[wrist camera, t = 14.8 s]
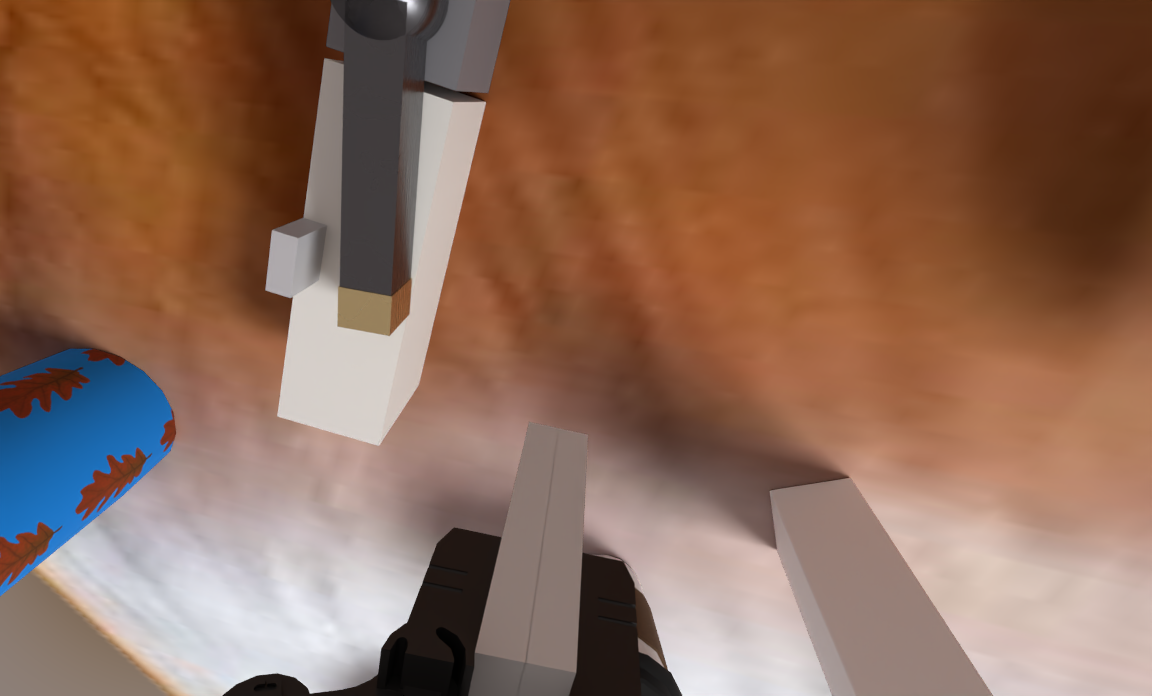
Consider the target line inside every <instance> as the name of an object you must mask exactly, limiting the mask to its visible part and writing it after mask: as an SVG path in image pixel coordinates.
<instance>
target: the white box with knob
mask: <svg viewBox="0 0 1152 696" xmlns="http://www.w3.org/2000/svg"><path fill="white" fill-rule="evenodd" d="M509 3H510V0H449V4H448V11H447V14H446V18H445V20H444V23H443V25H442V26H441V28H440V29H439V31H438V32H437V33H436V34H435V35H434V36H433V37H432V38H431V39H430V40H428V41H427V51H426V65H425V80H426V81H424V94H423V109H422V124H421V138H420V153H419V167H418V182H417V196H416V211H415V225H414V240H413V255H412V269H411V278H412V287H411V302H410V314H409V315H408V316H407V318H406V319H405V320H404V321H403V322H402V323H401V324H400V325H399V326H398V327H397V329H396V330H395V331H394V332H393V333H392V334H391V335H390V336H387V335H381V334H376V333H370V332H365V331H359V330H354V329H348V328H342V327H337V320H338V287H339V286H340V239H341V186H342V132H343V79H344V61H340V60H333V59H326V58H324V65H323V73H322V81H321V88H320V96H319V103H318V111H317V119H316V126H315V134H314V141H313V149H312V157H311V164H310V172H309V180H308V187H307V195H306V202H305V210H304V218H302V219H299V220H296V221H294V222H291V223H289V224H286V225H284V226H281V227H278V228H276V229H273V230H272V235H271V244H270V253H269V262H268V271H267V280H266V289H265V290H266V291H269V292H272V293H276V294H279V295H282V296H285V297H289V298H292V297H293V301H292V309H291V317H290V324H289V332H288V340H287V347H286V355H285V362H284V370H283V378H282V385H281V393H280V400H279V408H278V417H281V418H284V419H288V420H291V421H295V422H298V423H302V424H305V425H309V426H312V427H315V428H319V429H322V430H326V431H329V432H333V433H336V434H339V435H343V436H346V437H350V438H353V439H357V440H360V441H364V442H367V443H370V444H374V445H377V446H379V445H380V444H381V442H382V441H383V439H384V437H385V436H386V434H387V433H388V431H389V430H390V428H391V427H392V425H393V424H394V422H395V421H396V419H397V418H398V416H399V414H400V413H401V411H402V410H403V408H404V407H405V405H406V404H407V402H408V401H409V399H410V398H411V396H412V395H413V393H414V392H415V390H416V388H417V387H418V385H419V382H420V378H421V374H422V369H423V365H424V361H425V357H426V353H427V348H428V344H429V340H430V336H431V332H432V327H433V323H434V319H435V315H436V311H437V306H438V302H439V298H440V294H441V290H442V285H443V281H444V277H445V273H446V269H447V264H448V260H449V256H450V252H451V247H452V243H453V239H454V235H455V231H456V226H457V222H458V218H459V214H460V210H461V205H462V201H463V197H464V193H465V189H466V184H467V180H468V176H469V172H470V168H471V163H472V159H473V155H474V151H475V147H476V142H477V138H478V134H479V130H480V125H481V121H482V117H483V113H484V109H485V104H486V102H485V101H482V100H479V99H476V98H473V97H470V96H468V95H465V94H462V93H459V92H456V91H464V92H480V93H488V92H489V88H490V83H491V79H492V75H493V71H494V67H495V62H496V58H497V54H498V50H499V46H500V41H501V37H502V33H503V29H504V25H505V20H506V16H507V12H508V8H509ZM344 25H345V22H344V21H343V20H342V19H341V17H340V16H339V15H338V13H337V12H336V10H335V9H334V7H333V5H332V4H331V12H330V20H329V27H328V35H327V42H326V46H327V47H329V48H332V49H335V50H338V51H341V52H344ZM427 81H428V82H427ZM430 82H431V83H430ZM433 83H434V84H433ZM436 84H437V85H436ZM438 85H440V86H438ZM441 86H443V87H441ZM444 87H446V88H444ZM447 88H449V89H447ZM450 89H452V90H450ZM453 90H455V91H453Z"/></svg>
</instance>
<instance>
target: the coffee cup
mask: <svg viewBox="0 0 1152 696" xmlns="http://www.w3.org/2000/svg"><path fill="white" fill-rule="evenodd" d="M595 556H600V557H605V558H609V559H614V560H619V561H622V560H621V559H618V558H615V557H612V556H609V555H595ZM625 565H626V567H627V569H628V571H629V573H630V575H631V577H632V579H633V581H634V583H635V599H636V606H635V609H636V615H637V626H636V628H637V632H638V648H639V664H640V681H641V696H682V694H681V692H680V690H679V688H678V686H677V684H676V682H675V680H674V678H673V676H672V674H671V672H669V671H668V669H667V665H666V662H665V658H664V655H663V651H662V648H661V644H660V641H659V637H658V634H657V630H656V627H655V623H654V620H653V616H652V612H651V609H650V607H649V605H648V603H647V601H646V599H645V596H644V593H643V589H642V586H641V583H640V581H639V579H638V577H637V575H636V573H635V572H634V571H633V570H632V568H631V567H629V566H628V565H627V564H626V563H625Z"/></svg>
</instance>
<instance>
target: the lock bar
mask: <svg viewBox="0 0 1152 696" xmlns="http://www.w3.org/2000/svg"><path fill="white" fill-rule="evenodd" d="M331 3H332V5H333V7H334V9H335V10H336V12H337V13H338V15H339V16H340V17H341V19H342V20H343V21H344V22H345V25H344V79H343V132H342V186H341V239H340V286H339V287H338V320H337V327H342V328H348V329H354V330H359V331H365V332H370V333H376V334H381V335H387V336H390V335H391V334H392V333H393V332H394V331H395V330H396V329H397V327H398V326H399V325H400V324H401V323H402V322H403V321H404V320H405V319H406V318H407V316H408V315H409V314H410V302H411V287H412V278H411V269H412V255H413V240H414V225H415V211H416V196H417V182H418V167H419V153H420V138H421V124H422V109H423V94H424V80H425V65H426V51H427V41H428V40H430V39H431V38H432V37H433V36H434V35H435V34H436V33H437V32H438V31H439V29H440V28H441V26H442V25H443V23H444V20H445V18H446V14H447V11H448V4H449V0H331Z"/></svg>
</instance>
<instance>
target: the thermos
mask: <svg viewBox="0 0 1152 696" xmlns="http://www.w3.org/2000/svg"><path fill="white" fill-rule="evenodd" d="M175 435H176V429H175V421H174V414H173V411H172V409H171V407H170V405H169V403H168V401H167V399H166V397H165V395H164V394H163V392H162V390H161V389H160V388H159V387H158V386H157V385H156V384H155V383H154V382H153V381H152V380H151V379H150V378H149V377H148V376H147V374H146V373H145V372H144V371H142V370H140V369H139V368H137V367H136V366H134V365H132V364H131V363H129V362H128V361H126V360H124V359H123V358H121V357H119V356H116V355H113V354H110V353H106V352H103V351H100V350H97V349H68V350H65V351H63V352H60V353H58V354H55V355H52V356H50V357H47V358H45V359H42V360H40V361H37V362H35V363H32V364H29V365H27V366H24V367H22V368H19V369H17V370H14V371H12V372H9V373H7V374H4V375H2V376H0V596H1V595H2V594H4V593H5V592H6V591H7V590H8V589H9V588H11V587H12V586H13V585H14V584H16V583H17V582H18V581H19V580H21V579H22V578H23V577H24V576H25V575H27V574H28V573H29V572H30V571H32V570H33V569H34V568H35V567H36V566H38V565H39V564H40V563H41V562H43V561H44V560H45V559H46V558H47V557H49V556H50V555H51V554H52V553H53V552H55V551H56V550H57V549H58V548H60V547H61V546H62V545H63V544H64V543H66V542H67V541H68V540H69V539H71V538H72V537H73V536H74V535H75V534H77V533H78V532H79V531H80V530H81V529H83V528H84V527H85V526H86V525H88V524H89V523H90V522H91V521H92V520H94V519H95V518H96V517H97V516H99V515H100V514H101V513H102V512H103V511H105V510H106V509H107V508H108V507H110V506H111V505H112V504H113V503H114V502H116V501H117V500H118V499H119V498H120V497H122V496H123V495H124V494H125V493H126V492H127V491H128V490H129V489H130V488H131V487H133V486H134V485H135V484H136V483H137V482H138V481H139V480H140V479H141V478H142V477H143V476H144V475H146V474H147V473H148V472H149V471H150V470H151V469H152V468H153V467H154V466H155V465H156V464H157V463H158V462H159V461H160V460H162V459H163V458H164V457H165V456H166V455H167V454H168V453H169V452H170V451H171V448H172V444H173V441H174V438H175Z"/></svg>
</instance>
